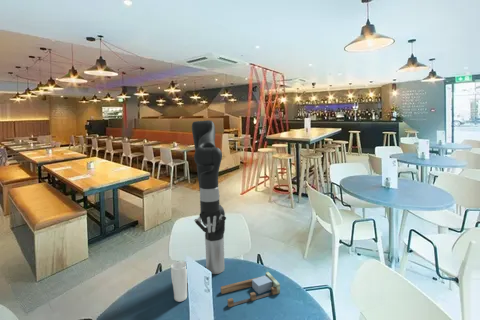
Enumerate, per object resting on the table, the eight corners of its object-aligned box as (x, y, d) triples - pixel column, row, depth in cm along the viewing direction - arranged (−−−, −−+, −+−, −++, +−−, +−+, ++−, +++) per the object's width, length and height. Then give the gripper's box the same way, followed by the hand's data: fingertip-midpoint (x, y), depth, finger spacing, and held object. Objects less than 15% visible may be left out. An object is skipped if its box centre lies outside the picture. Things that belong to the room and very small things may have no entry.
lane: (220, 291, 116) (220, 283, 116) (268, 279, 125) (268, 271, 124) (228, 307, 106) (228, 298, 106) (280, 292, 115) (280, 284, 114)
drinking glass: (172, 304, 108) (170, 270, 106) (172, 294, 115) (170, 262, 113) (189, 301, 110) (187, 268, 108) (188, 292, 117) (186, 260, 115)
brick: (252, 287, 119) (252, 279, 119) (265, 283, 122) (265, 275, 122) (258, 294, 114) (258, 286, 114) (272, 289, 118) (272, 281, 117)
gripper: (222, 194, 110) (223, 234, 112) (191, 197, 105) (192, 239, 107) (228, 198, 103) (229, 241, 105) (195, 203, 98) (196, 247, 100)
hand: (211, 240), depth 106 cm, fingers closed
